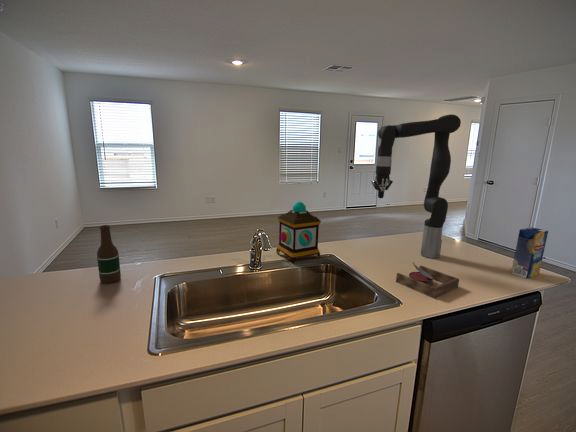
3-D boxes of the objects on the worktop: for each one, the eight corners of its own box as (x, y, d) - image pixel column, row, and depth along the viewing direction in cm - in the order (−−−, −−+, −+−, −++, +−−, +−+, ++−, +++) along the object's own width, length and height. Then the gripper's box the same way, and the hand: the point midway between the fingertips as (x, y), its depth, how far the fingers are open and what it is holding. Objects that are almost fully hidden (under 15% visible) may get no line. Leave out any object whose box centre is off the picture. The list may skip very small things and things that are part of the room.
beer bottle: (125, 278, 131) (120, 224, 125) (109, 285, 123) (103, 229, 118) (111, 275, 133) (105, 222, 128) (95, 282, 126) (88, 226, 121)
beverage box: (538, 274, 146) (548, 230, 141) (527, 278, 141) (536, 233, 136) (522, 269, 152) (531, 227, 147) (511, 273, 147) (519, 229, 142)
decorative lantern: (303, 248, 176) (305, 197, 170) (323, 259, 160) (326, 203, 153) (272, 253, 166) (273, 199, 160) (291, 265, 150) (293, 206, 143)
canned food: (412, 286, 140) (417, 266, 142) (434, 292, 132) (439, 270, 134) (401, 281, 133) (406, 259, 135) (423, 287, 125) (429, 264, 127)
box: (395, 281, 134) (396, 273, 133) (420, 273, 144) (421, 265, 143) (434, 298, 119) (435, 289, 119) (457, 287, 130) (459, 278, 129)
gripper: (378, 165, 152) (375, 199, 155) (398, 165, 157) (395, 198, 161) (368, 164, 158) (366, 197, 162) (388, 165, 164) (385, 196, 167)
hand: (380, 198), depth 161 cm, fingers closed
